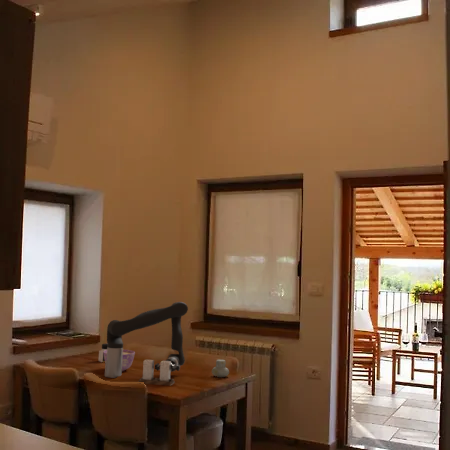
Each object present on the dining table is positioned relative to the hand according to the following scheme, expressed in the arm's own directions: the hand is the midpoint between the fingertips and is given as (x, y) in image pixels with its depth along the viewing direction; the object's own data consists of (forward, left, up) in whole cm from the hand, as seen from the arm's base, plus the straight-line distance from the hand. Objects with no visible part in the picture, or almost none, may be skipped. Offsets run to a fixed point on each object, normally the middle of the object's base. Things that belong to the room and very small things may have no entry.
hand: (164, 369), depth 314 cm
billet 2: (0, +2, -8) cm, 8 cm away
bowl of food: (-37, +33, -9) cm, 50 cm away
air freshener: (+28, +36, -9) cm, 46 cm away
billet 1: (-10, +2, -8) cm, 13 cm away
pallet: (-5, +2, -9) cm, 10 cm away
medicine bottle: (-54, +59, -9) cm, 80 cm away
